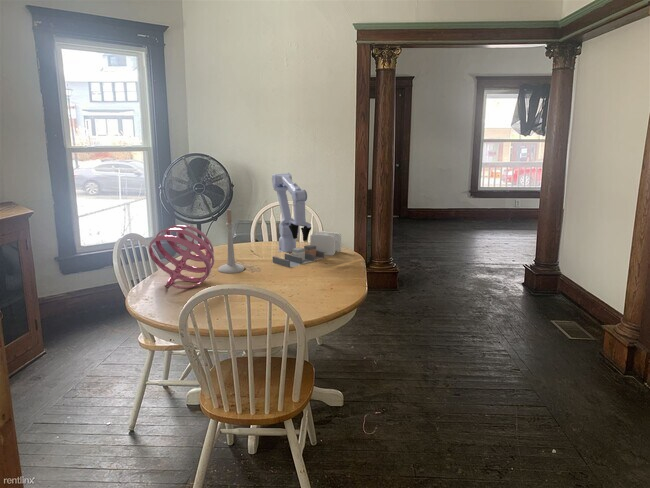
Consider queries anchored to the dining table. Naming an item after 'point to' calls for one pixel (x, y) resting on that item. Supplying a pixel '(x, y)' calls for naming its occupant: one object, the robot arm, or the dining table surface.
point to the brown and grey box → (310, 250)
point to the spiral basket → (184, 254)
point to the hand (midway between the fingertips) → (300, 239)
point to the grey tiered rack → (297, 259)
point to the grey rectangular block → (299, 252)
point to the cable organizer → (326, 242)
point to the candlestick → (230, 251)
